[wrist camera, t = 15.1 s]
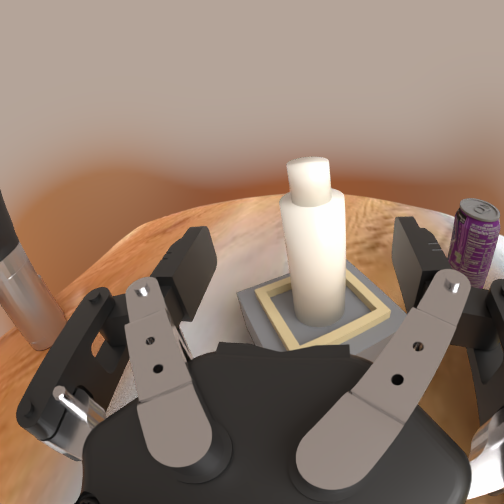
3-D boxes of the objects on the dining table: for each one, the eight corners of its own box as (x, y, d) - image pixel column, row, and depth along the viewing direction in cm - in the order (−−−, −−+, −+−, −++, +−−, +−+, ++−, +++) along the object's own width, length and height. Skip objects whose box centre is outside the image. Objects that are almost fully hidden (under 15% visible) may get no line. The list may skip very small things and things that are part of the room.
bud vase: (286, 302, 30) (263, 163, 22) (328, 285, 31) (318, 150, 23) (308, 335, 26) (291, 178, 18) (354, 313, 27) (355, 163, 19)
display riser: (246, 327, 36) (234, 286, 32) (340, 289, 39) (339, 247, 35) (289, 415, 25) (282, 382, 21) (402, 356, 27) (415, 313, 23)
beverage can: (460, 262, 37) (473, 193, 30) (490, 285, 31) (510, 213, 25) (434, 277, 36) (447, 202, 30) (465, 304, 30) (488, 226, 24)
